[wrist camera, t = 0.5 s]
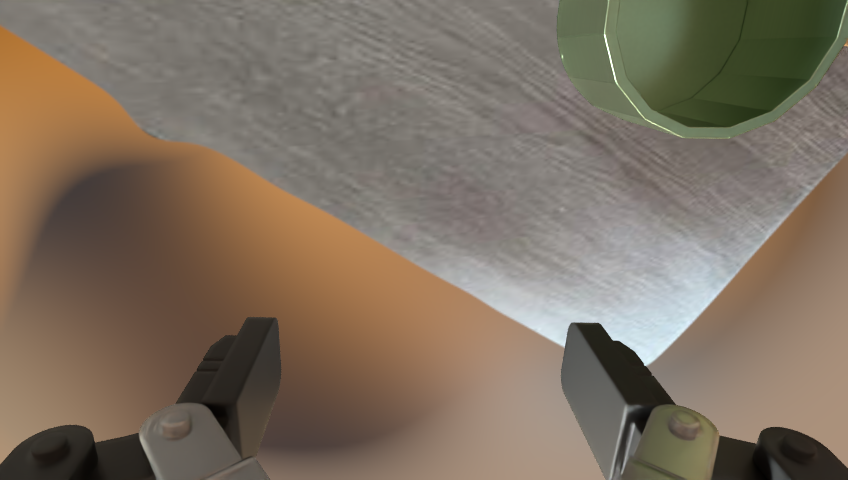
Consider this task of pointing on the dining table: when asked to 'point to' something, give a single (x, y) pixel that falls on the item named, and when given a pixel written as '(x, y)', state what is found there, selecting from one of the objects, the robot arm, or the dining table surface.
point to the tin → (699, 59)
